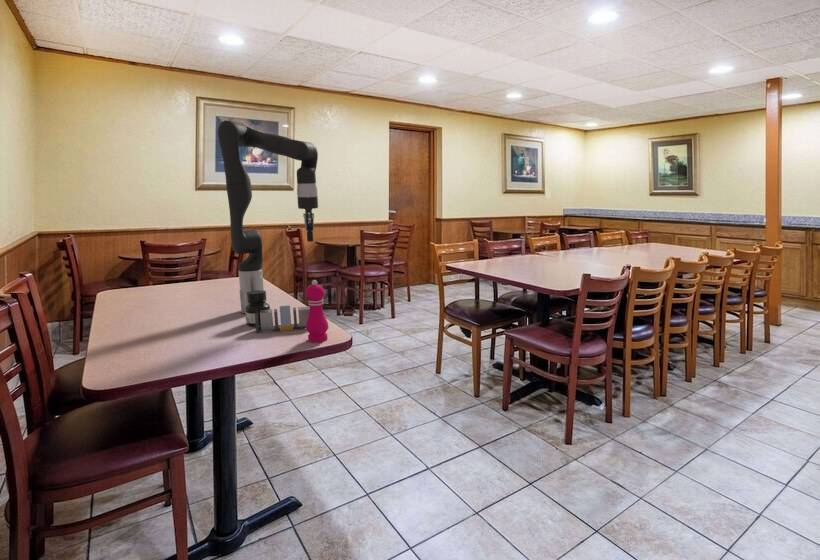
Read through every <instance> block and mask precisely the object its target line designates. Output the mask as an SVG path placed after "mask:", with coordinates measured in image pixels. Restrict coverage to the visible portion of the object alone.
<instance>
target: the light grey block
mask: <svg viewBox="0 0 820 560" xmlns="http://www.w3.org/2000/svg"><path fill="white" fill-rule="evenodd" d="M279 315H280V325H281V326H290V325H291V324H292V318H291V317H292V315H291V305H290V304H284V305H283V304H282V305H279Z"/></svg>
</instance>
